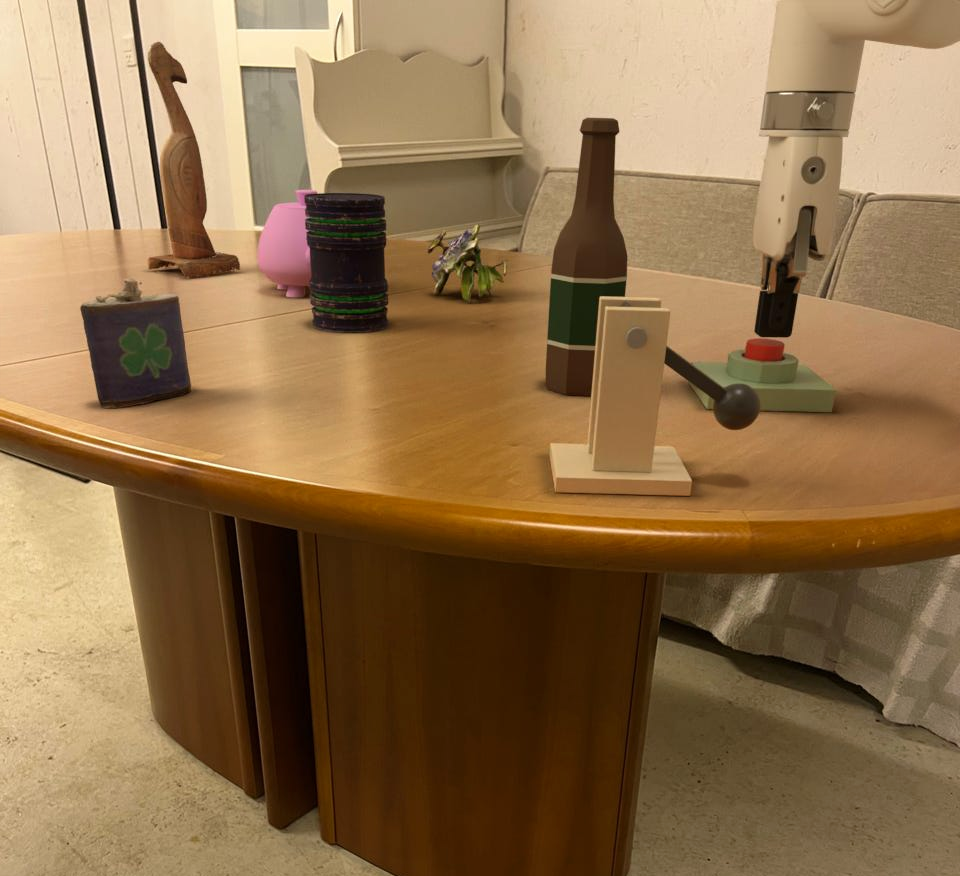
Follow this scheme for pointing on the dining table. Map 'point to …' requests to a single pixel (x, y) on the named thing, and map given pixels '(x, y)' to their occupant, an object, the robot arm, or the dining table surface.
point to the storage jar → (347, 261)
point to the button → (764, 350)
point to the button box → (771, 383)
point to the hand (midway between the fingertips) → (772, 335)
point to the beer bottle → (585, 264)
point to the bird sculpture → (183, 181)
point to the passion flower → (464, 264)
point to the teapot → (286, 247)
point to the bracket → (624, 409)
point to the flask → (136, 347)
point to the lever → (718, 393)
